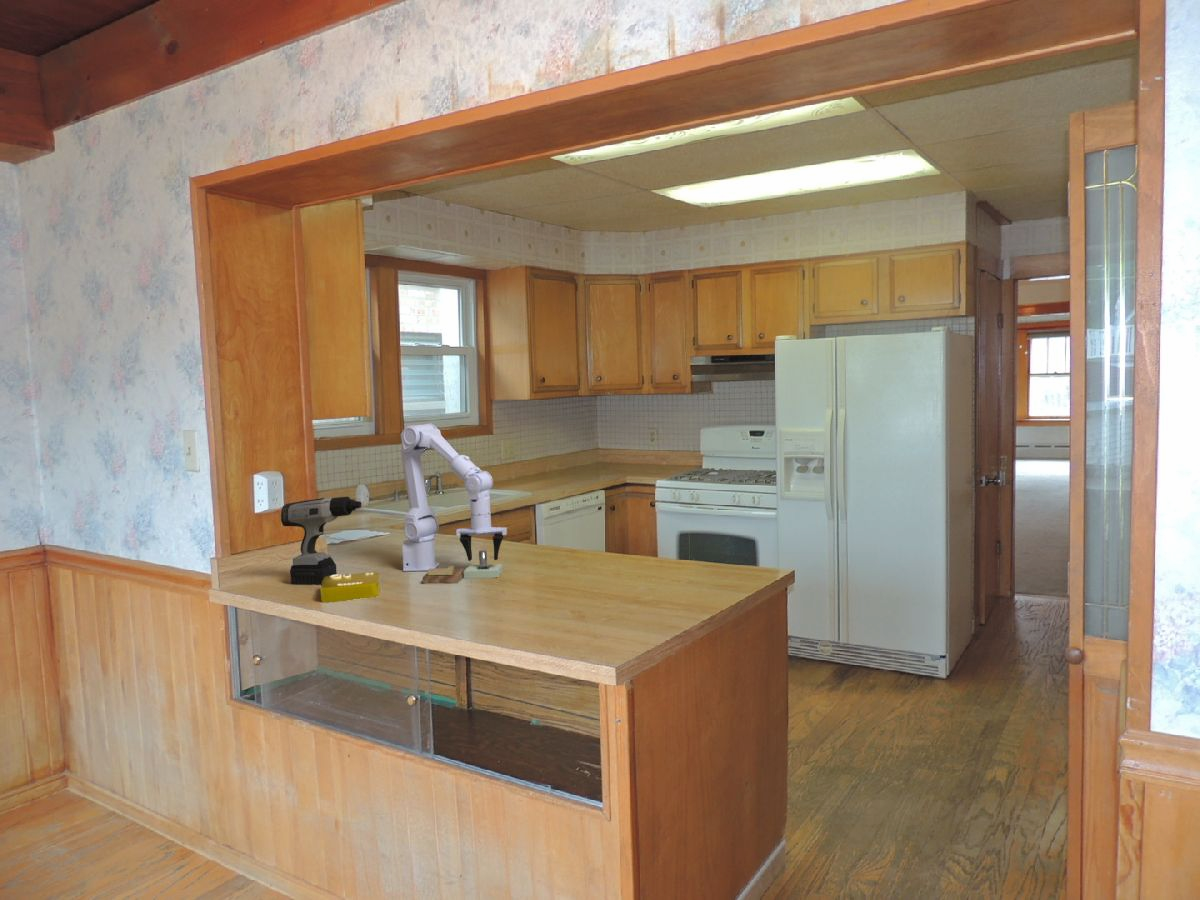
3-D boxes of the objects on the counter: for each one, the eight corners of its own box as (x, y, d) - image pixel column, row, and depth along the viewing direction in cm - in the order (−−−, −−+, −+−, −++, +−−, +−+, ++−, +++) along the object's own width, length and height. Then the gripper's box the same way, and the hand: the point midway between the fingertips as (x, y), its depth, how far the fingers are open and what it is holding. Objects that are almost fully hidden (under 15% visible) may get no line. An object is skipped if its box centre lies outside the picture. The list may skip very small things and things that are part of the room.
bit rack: (464, 578, 247) (463, 571, 247) (469, 571, 255) (469, 565, 255) (498, 577, 247) (498, 570, 247) (503, 570, 255) (502, 564, 254)
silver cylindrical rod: (479, 575, 250) (478, 552, 249) (480, 573, 252) (479, 550, 251) (486, 575, 250) (485, 551, 249) (488, 573, 252) (487, 550, 251)
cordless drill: (359, 585, 244) (353, 498, 241) (281, 584, 249) (274, 499, 246) (371, 578, 251) (366, 494, 249) (296, 577, 256) (289, 495, 254)
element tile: (320, 604, 226) (319, 587, 226) (324, 591, 241) (323, 574, 240) (379, 599, 230) (378, 581, 229) (379, 586, 244) (378, 569, 244)
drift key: (427, 575, 243) (427, 568, 242) (429, 573, 245) (429, 566, 245) (452, 575, 242) (452, 568, 242) (454, 573, 244) (454, 566, 244)
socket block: (423, 583, 243) (422, 577, 242) (431, 576, 252) (430, 569, 251) (458, 583, 242) (457, 576, 242) (464, 575, 251) (464, 568, 251)
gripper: (452, 516, 246) (455, 563, 247) (503, 515, 245) (505, 562, 246) (458, 512, 253) (460, 558, 254) (507, 511, 252) (509, 556, 253)
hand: (483, 559), depth 251 cm, fingers open, 7 cm apart
